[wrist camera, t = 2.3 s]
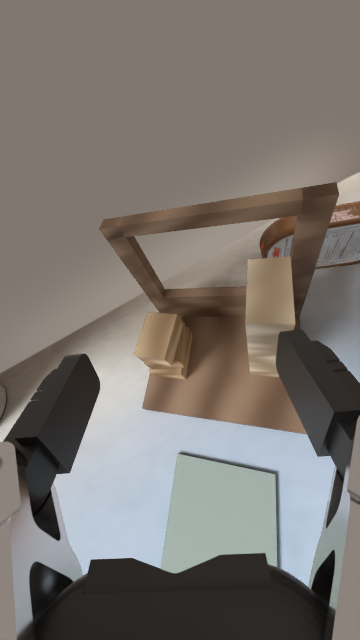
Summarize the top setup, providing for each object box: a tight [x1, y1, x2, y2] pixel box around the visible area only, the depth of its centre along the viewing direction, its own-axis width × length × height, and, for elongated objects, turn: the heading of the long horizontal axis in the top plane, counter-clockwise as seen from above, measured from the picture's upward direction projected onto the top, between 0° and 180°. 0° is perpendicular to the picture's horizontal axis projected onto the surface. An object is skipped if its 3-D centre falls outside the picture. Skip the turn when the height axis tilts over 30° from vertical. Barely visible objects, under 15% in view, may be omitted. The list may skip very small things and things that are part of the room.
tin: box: [260, 201, 360, 269], centre depth 28 cm, size 15×3×8 cm, turn 86°
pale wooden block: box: [245, 256, 295, 377], centre depth 21 cm, size 3×6×13 cm, turn 171°
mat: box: [161, 454, 277, 573], centre depth 21 cm, size 10×10×1 cm
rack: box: [99, 183, 339, 434], centre depth 22 cm, size 18×14×17 cm
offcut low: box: [149, 327, 193, 379], centre depth 29 cm, size 4×6×2 cm, turn 171°
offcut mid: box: [144, 315, 185, 370], centre depth 27 cm, size 4×6×2 cm
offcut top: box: [134, 312, 183, 366], centre depth 25 cm, size 4×5×2 cm
